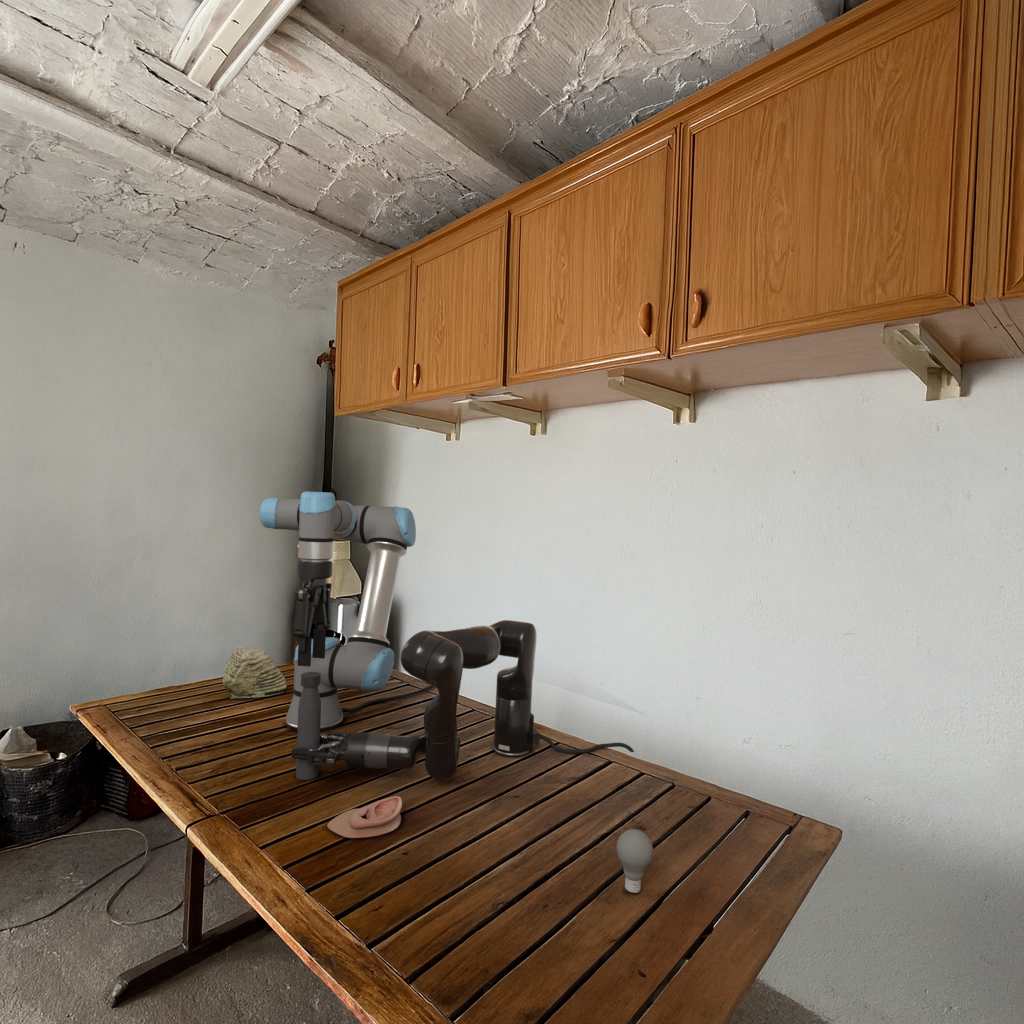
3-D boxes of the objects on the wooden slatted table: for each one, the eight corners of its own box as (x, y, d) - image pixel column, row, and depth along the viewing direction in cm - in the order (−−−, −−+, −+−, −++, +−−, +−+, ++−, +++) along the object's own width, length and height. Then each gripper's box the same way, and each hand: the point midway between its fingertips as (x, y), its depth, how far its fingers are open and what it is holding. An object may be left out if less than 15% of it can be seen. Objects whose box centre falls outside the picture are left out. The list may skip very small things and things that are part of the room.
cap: (306, 688, 140) (306, 678, 140) (297, 683, 143) (297, 673, 143) (324, 684, 143) (324, 674, 143) (314, 680, 146) (315, 670, 146)
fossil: (218, 695, 195) (220, 647, 195) (278, 685, 208) (279, 640, 207) (228, 703, 189) (230, 653, 188) (289, 692, 201) (290, 645, 201)
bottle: (302, 782, 140) (306, 680, 140) (291, 774, 144) (295, 675, 143) (322, 775, 144) (326, 676, 143) (311, 768, 147) (315, 671, 147)
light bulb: (610, 879, 108) (613, 822, 108) (644, 879, 109) (647, 822, 109) (619, 902, 102) (622, 840, 102) (655, 901, 103) (658, 840, 103)
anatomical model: (320, 812, 119) (347, 786, 130) (319, 833, 119) (347, 805, 130) (386, 822, 116) (408, 795, 127) (385, 844, 116) (408, 814, 128)
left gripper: (318, 555, 153) (314, 650, 153) (277, 563, 134) (273, 671, 134) (348, 557, 152) (344, 652, 152) (311, 565, 132) (307, 674, 133)
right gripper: (379, 723, 150) (310, 719, 151) (362, 746, 136) (286, 742, 136) (377, 754, 150) (308, 750, 151) (361, 781, 136) (285, 776, 136)
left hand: (311, 661), depth 143 cm, fingers open, 7 cm apart
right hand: (298, 746), depth 144 cm, fingers open, 7 cm apart
